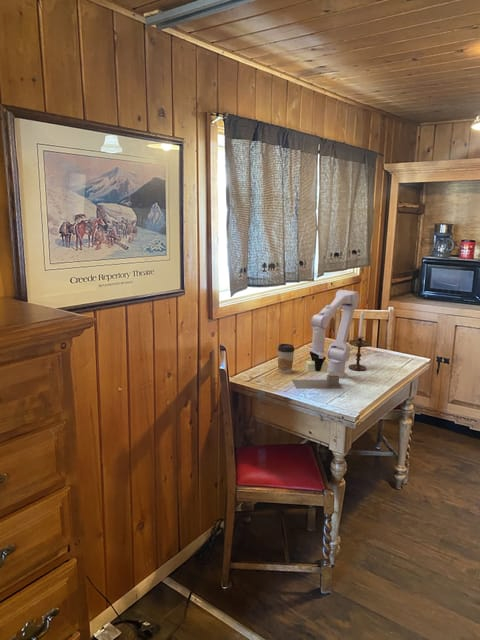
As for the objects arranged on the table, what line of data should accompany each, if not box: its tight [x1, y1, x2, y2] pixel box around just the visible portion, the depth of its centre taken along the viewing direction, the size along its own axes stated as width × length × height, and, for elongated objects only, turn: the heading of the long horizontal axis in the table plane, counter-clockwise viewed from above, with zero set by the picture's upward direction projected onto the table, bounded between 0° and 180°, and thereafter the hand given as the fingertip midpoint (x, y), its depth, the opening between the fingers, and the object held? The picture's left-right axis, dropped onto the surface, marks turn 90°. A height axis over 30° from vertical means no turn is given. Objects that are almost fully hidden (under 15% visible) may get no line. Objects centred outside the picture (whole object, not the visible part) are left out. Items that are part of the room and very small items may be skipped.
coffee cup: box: [277, 343, 295, 375], centre depth 244 cm, size 8×8×15 cm
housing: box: [291, 374, 344, 390], centre depth 228 cm, size 12×22×6 cm, turn 95°
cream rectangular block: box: [305, 360, 329, 373], centre depth 225 cm, size 5×9×4 cm, turn 95°
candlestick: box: [348, 304, 371, 372], centre depth 255 cm, size 11×11×35 cm
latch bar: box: [328, 371, 345, 377], centre depth 228 cm, size 2×7×2 cm, turn 95°
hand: (316, 369), depth 225 cm, fingers closed on cream rectangular block, 5 cm apart
